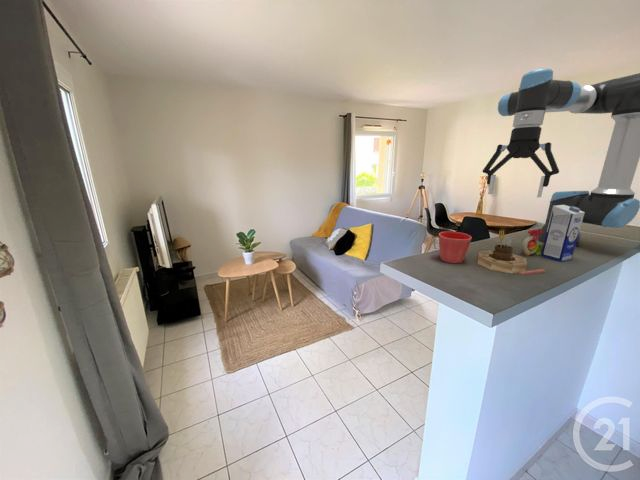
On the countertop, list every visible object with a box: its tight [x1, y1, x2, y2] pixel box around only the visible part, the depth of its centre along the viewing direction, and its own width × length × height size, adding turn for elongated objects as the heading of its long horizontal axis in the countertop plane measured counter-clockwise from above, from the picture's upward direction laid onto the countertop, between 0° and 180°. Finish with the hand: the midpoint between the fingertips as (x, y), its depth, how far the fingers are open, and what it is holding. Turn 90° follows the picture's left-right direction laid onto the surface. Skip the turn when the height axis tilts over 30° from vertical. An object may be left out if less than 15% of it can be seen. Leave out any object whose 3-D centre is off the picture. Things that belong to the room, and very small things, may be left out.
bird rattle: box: [521, 228, 544, 256], centre depth 104 cm, size 6×11×9 cm
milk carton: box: [540, 205, 585, 263], centre depth 99 cm, size 7×7×20 cm
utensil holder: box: [492, 229, 514, 261], centre depth 93 cm, size 6×6×12 cm
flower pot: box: [438, 230, 473, 264], centre depth 99 cm, size 11×11×10 cm
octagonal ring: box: [477, 249, 528, 274], centre depth 94 cm, size 14×14×3 cm
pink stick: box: [518, 268, 547, 276], centre depth 88 cm, size 10×1×1 cm, turn 103°
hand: (513, 195), depth 89 cm, fingers open, 13 cm apart
